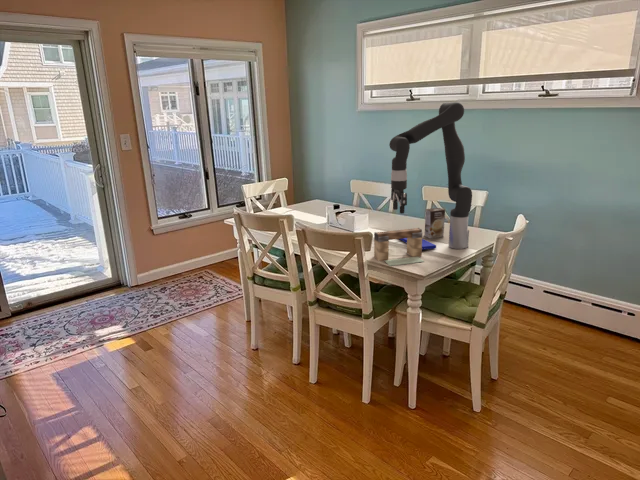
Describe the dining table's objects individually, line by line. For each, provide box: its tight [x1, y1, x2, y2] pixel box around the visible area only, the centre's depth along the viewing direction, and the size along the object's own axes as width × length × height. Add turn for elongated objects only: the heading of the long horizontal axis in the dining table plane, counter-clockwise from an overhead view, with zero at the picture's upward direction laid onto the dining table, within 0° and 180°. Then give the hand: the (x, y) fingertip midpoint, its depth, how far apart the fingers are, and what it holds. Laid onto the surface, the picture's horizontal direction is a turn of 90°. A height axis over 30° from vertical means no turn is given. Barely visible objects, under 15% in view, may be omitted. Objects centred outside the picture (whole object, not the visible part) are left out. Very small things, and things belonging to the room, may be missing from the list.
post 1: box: [373, 236, 390, 262], centre depth 224 cm, size 5×7×12 cm
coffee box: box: [424, 207, 446, 239], centre depth 255 cm, size 9×6×16 cm
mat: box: [384, 256, 425, 267], centre depth 220 cm, size 18×7×1 cm, turn 103°
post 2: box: [406, 231, 423, 257], centre depth 227 cm, size 5×7×12 cm
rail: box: [373, 227, 423, 241], centre depth 224 cm, size 24×4×4 cm, turn 103°
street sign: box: [399, 238, 437, 251], centre depth 250 cm, size 34×3×10 cm
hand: (398, 211), depth 220 cm, fingers open, 8 cm apart
